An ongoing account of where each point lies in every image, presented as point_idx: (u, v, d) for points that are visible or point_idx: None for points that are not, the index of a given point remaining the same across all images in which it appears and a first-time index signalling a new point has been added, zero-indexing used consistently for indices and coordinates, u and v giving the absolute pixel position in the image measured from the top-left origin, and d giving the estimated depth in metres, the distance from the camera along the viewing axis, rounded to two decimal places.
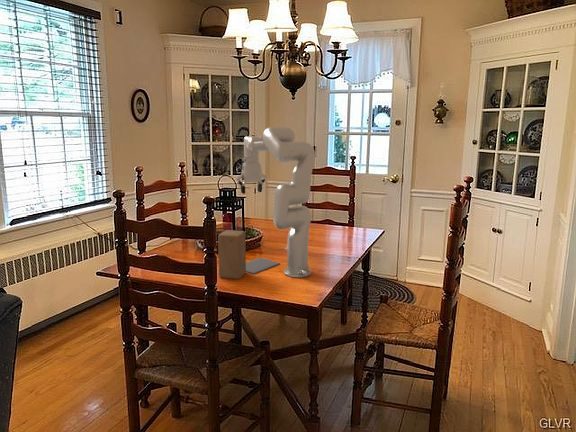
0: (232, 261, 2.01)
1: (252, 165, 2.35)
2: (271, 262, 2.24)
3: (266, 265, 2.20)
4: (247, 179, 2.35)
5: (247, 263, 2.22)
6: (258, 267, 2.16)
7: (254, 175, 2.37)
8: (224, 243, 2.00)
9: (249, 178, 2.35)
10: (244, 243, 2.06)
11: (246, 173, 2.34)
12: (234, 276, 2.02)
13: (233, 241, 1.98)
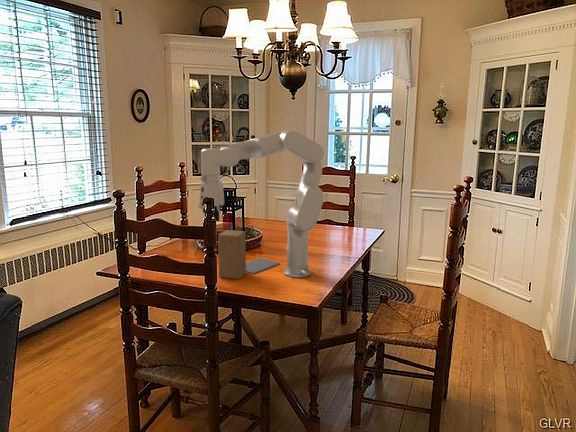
0: (232, 261, 2.01)
1: (214, 185, 1.87)
2: (271, 262, 2.24)
3: (266, 265, 2.20)
4: None
5: (247, 263, 2.22)
6: (258, 267, 2.16)
7: (216, 197, 1.89)
8: (224, 243, 2.00)
9: None
10: (244, 243, 2.06)
11: (208, 196, 1.85)
12: (234, 276, 2.02)
13: (233, 241, 1.98)
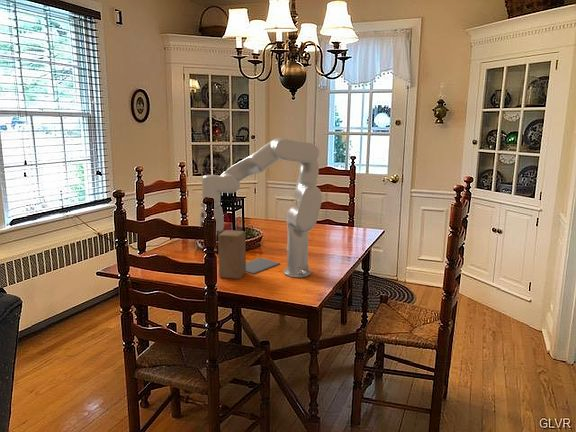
0: (232, 261, 2.01)
1: (214, 211, 1.89)
2: (271, 262, 2.24)
3: (266, 265, 2.20)
4: None
5: (247, 263, 2.22)
6: (258, 267, 2.16)
7: (216, 223, 1.91)
8: (224, 243, 2.00)
9: None
10: (244, 243, 2.06)
11: None
12: (234, 276, 2.02)
13: (233, 241, 1.98)
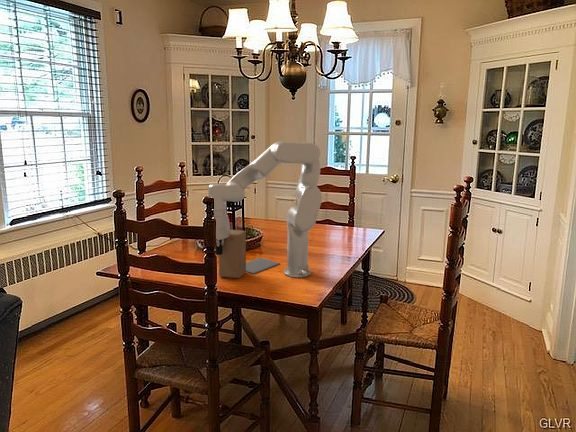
0: (232, 260, 2.01)
1: (220, 219, 1.93)
2: (271, 262, 2.24)
3: (266, 265, 2.20)
4: (216, 237, 1.92)
5: (247, 263, 2.22)
6: (258, 267, 2.16)
7: (223, 231, 1.95)
8: (224, 242, 2.00)
9: (218, 235, 1.93)
10: (244, 242, 2.06)
11: None
12: (234, 275, 2.02)
13: (234, 240, 1.99)
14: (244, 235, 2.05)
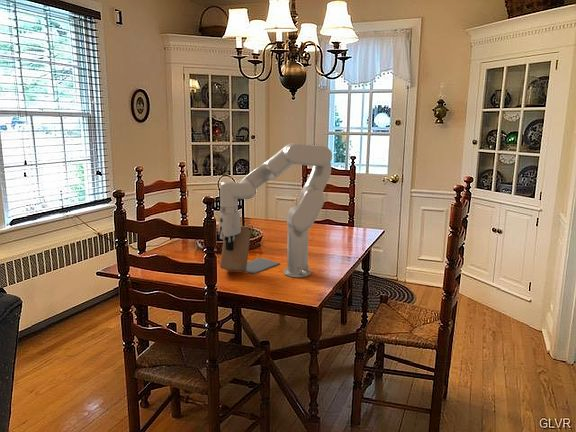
0: (235, 250, 2.04)
1: (232, 216, 1.98)
2: (271, 262, 2.24)
3: (266, 265, 2.20)
4: (227, 233, 1.97)
5: (247, 263, 2.22)
6: (258, 267, 2.16)
7: (234, 227, 2.00)
8: None
9: (229, 232, 1.98)
10: (248, 240, 2.12)
11: (226, 226, 1.96)
12: (235, 266, 2.02)
13: None
14: (249, 232, 2.12)
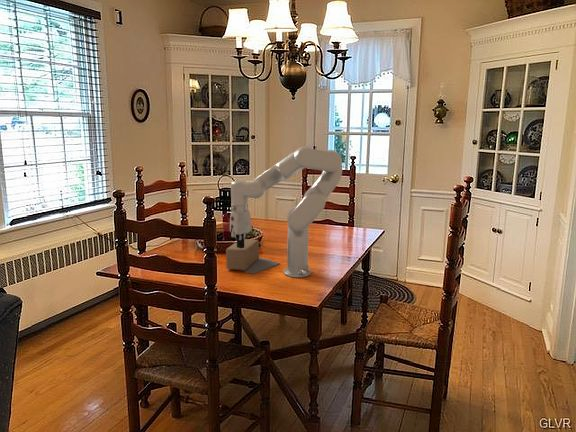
0: (244, 245, 2.17)
1: (243, 214, 2.03)
2: (271, 262, 2.24)
3: (266, 265, 2.20)
4: (238, 231, 2.02)
5: None
6: (258, 267, 2.16)
7: (245, 225, 2.05)
8: None
9: (240, 230, 2.03)
10: (256, 256, 2.24)
11: (237, 224, 2.01)
12: (241, 249, 2.11)
13: (253, 240, 2.26)
14: (258, 253, 2.27)
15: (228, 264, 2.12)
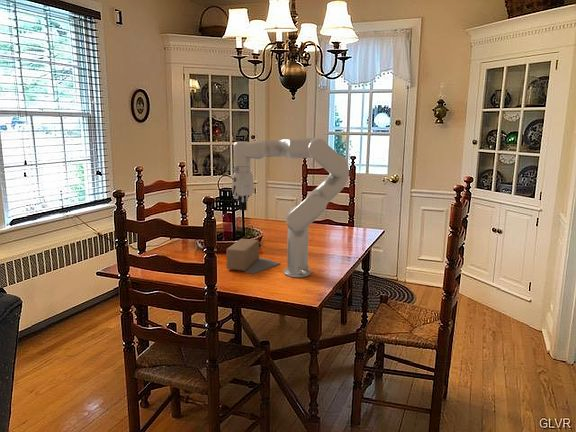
0: (245, 245, 2.17)
1: (245, 176, 2.01)
2: (271, 262, 2.24)
3: (266, 265, 2.20)
4: (241, 192, 2.00)
5: None
6: (258, 267, 2.16)
7: (247, 187, 2.03)
8: (244, 240, 2.25)
9: (243, 191, 2.01)
10: (256, 256, 2.24)
11: (240, 185, 1.99)
12: (242, 249, 2.10)
13: (253, 240, 2.25)
14: (258, 253, 2.27)
15: (228, 264, 2.12)
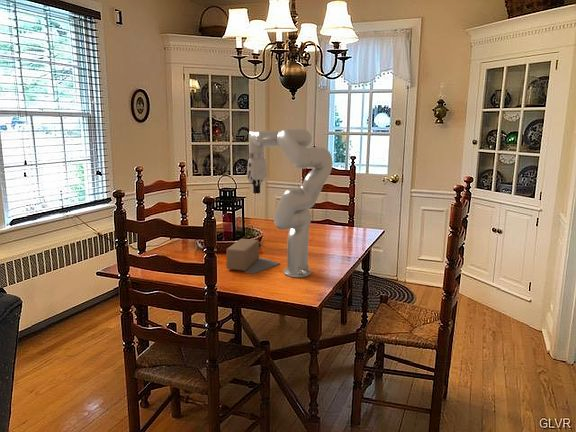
0: (245, 245, 2.17)
1: (259, 161, 2.22)
2: (271, 262, 2.24)
3: (266, 265, 2.20)
4: (255, 176, 2.22)
5: None
6: (258, 267, 2.16)
7: (261, 172, 2.24)
8: (244, 240, 2.25)
9: (257, 175, 2.22)
10: (256, 256, 2.24)
11: (254, 170, 2.21)
12: (242, 249, 2.10)
13: (253, 240, 2.25)
14: (258, 253, 2.27)
15: (228, 264, 2.12)
